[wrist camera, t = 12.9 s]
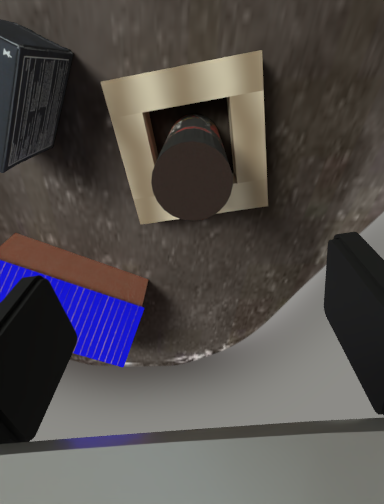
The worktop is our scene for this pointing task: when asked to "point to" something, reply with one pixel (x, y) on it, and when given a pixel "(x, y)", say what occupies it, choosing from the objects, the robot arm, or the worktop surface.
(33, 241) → the house
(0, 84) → the small box
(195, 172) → the deodorant
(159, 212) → the holder
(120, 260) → the worktop surface
